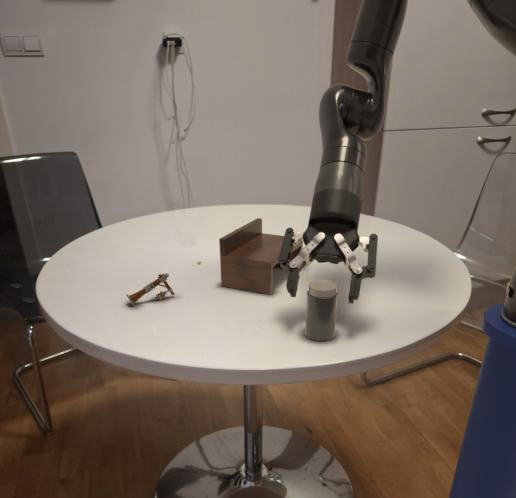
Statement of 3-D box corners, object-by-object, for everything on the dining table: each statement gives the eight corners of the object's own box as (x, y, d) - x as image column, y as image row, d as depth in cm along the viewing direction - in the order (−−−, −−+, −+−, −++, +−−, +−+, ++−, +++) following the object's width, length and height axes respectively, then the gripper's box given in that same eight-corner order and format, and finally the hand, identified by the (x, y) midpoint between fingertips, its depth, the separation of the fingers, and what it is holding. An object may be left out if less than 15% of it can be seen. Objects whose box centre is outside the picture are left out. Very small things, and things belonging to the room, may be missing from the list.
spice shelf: (302, 267, 100) (303, 223, 96) (270, 294, 88) (270, 245, 83) (257, 260, 104) (257, 218, 100) (221, 286, 91) (219, 238, 87)
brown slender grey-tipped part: (180, 292, 86) (167, 271, 83) (141, 317, 85) (127, 297, 82) (176, 289, 88) (164, 268, 85) (138, 313, 86) (125, 293, 84)
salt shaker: (338, 331, 75) (342, 281, 71) (329, 343, 71) (333, 292, 67) (310, 325, 76) (313, 277, 73) (301, 337, 73) (303, 287, 69)
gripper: (288, 184, 74) (269, 283, 69) (386, 188, 70) (372, 293, 66) (294, 211, 81) (277, 302, 76) (383, 216, 77) (370, 312, 73)
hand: (321, 298), depth 71 cm, fingers open, 8 cm apart
